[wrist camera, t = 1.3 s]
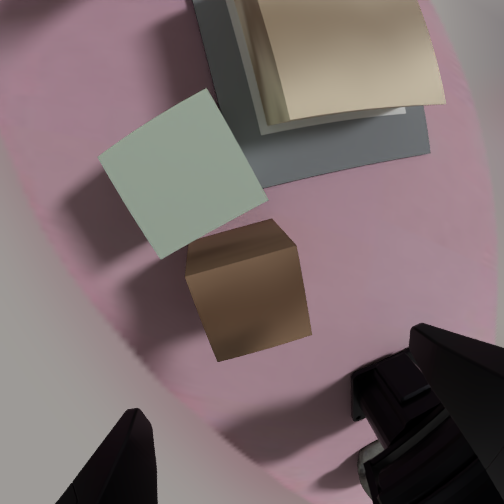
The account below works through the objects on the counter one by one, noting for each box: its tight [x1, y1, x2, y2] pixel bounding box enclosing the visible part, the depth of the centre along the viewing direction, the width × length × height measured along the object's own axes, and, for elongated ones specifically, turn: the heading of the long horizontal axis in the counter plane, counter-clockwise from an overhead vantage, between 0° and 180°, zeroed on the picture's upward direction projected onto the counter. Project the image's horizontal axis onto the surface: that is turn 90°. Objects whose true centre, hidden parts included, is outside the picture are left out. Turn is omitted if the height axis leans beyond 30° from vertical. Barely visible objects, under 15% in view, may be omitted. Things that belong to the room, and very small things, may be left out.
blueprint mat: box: [192, 0, 430, 188], centre depth 13 cm, size 14×12×1 cm
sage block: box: [98, 88, 268, 259], centre depth 12 cm, size 4×4×4 cm
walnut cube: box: [185, 219, 312, 362], centre depth 15 cm, size 4×4×4 cm
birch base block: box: [234, 0, 446, 126], centre depth 11 cm, size 8×8×4 cm
